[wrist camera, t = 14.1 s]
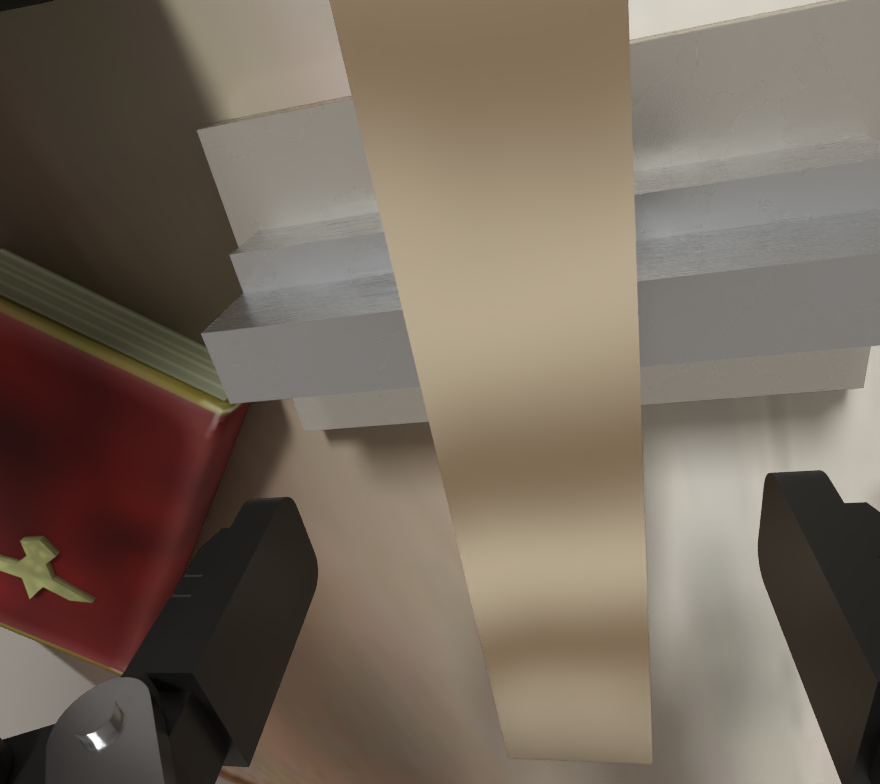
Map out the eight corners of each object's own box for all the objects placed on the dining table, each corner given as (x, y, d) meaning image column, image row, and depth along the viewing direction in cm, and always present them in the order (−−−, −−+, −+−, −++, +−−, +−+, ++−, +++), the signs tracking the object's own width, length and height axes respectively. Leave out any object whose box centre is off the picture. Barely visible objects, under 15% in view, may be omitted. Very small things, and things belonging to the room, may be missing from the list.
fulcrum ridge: (315, 411, 28) (252, 522, 22) (216, 122, 22) (94, 167, 16) (846, 366, 23) (948, 491, 17) (905, -16, 17) (1092, -24, 11)
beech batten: (363, -193, 11) (257, -306, 7) (586, -262, 11) (613, -435, 6) (515, 616, 22) (508, 758, 18) (631, 615, 22) (652, 764, 17)
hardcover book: (272, 363, 27) (230, 417, 24) (169, 622, 38) (131, 685, 35) (2, 232, 26) (-85, 268, 22) (-23, 541, 37) (-84, 598, 33)
